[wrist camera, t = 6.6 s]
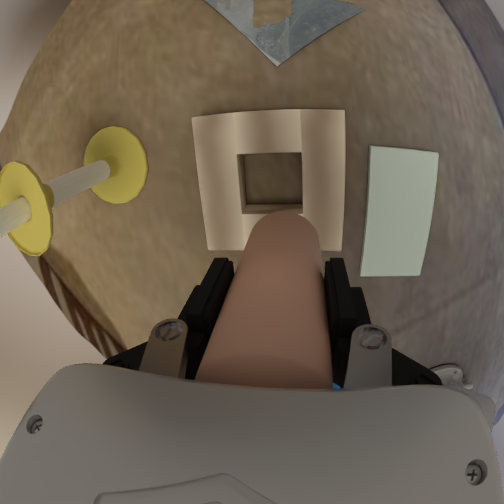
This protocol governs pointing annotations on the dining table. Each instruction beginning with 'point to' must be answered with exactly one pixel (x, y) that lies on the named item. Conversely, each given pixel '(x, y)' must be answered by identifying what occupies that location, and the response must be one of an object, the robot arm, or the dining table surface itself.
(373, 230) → the mat
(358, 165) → the dining table surface
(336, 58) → the dining table surface
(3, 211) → the candle
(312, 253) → the peg
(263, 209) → the pocket frame
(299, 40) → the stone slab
